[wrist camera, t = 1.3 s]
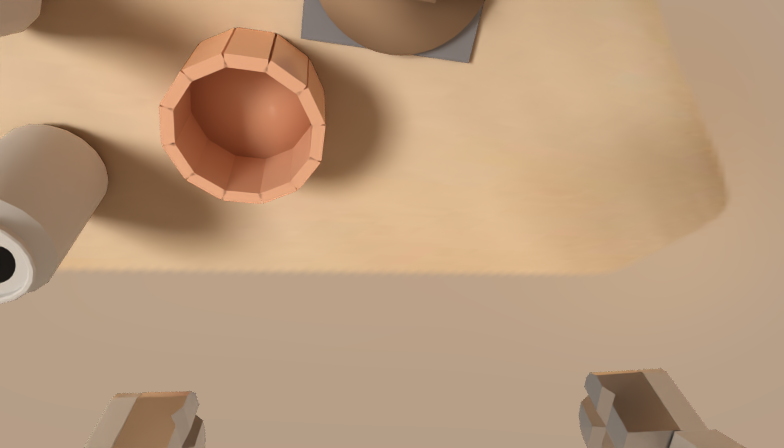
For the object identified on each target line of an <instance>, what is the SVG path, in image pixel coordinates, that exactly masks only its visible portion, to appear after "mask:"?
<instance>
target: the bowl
mask: <svg viewBox="0 0 784 448" xmlns="http://www.w3.org/2000/svg"><path fill="white" fill-rule="evenodd" d="M159 114H160V129H161V144H164V145H163V148H164V150H165V151H166V153H167V154H168V156H169V157H170V158H171V160H172V161H173V163H174V164H175V166H176V167H177V169H178V170H179V171H180V173H181V174H182V176H183V177H184V179H185V178H187V181H188V182H190V183H192V184H194V185H195V186H197V187H199V188H201V189H203V190H204V191H206V192H208V193H210V194H212V195H213V196H215V197H217V198H219V199H220V200H221V199H222V198H223V201H235V202H246V203H258V204H261V202H262V201H263V203H266V202H269V201H271V200H274V199H277V198H279V197H282V196H285V195H287V194H290V193H292V192H295V191H297V189H300V187H301V186H302V185H303V184H304V183H305V181H306V180H307V179H308V178H309V177H310V175H311V174H312V173H313V172H314V170H315V169H316V168H317V167H318V166H319V164H320V163H321V161H322V152H323V143H324V134H325V93H324V89H323V87H322V85H321V83H320V81H319V78H318V76H317V74H316V72H315V70H314V67H313V65H312V63H311V61H310V59H308V56H306V55H305V54H304V53H302V52H301V51H300V50H298V49H297V48H296V47H294V46H293V45H292V44H290V43H289V42H288V41H286V40H285V39H284V38H282V37H281V36H280V35H278V34H277V36H276V37H275V33H272V32H265V31H258V30H252V29H245V28H238V27H237V28H236V30H235V28H232V29H230V30H228V31H225V32H223V33H221V34H218V35H216V36H213V37H211V38H209V39H206V40H204V41H202V42H201V43H200V44H198V46H197V47H196V49H195V50H194V52H193V53H192V55H191V56H190V58H189V59H188V61H187V62H186V63H185V65H184V66H183V68H182V69H181V71H180V72H179V74H178V76H177V77H176V79H175V80H174V82H173V84H172V85H171V87H170V88H169V90H168V91H167V93H166V95H165V96H164V98H163V99H162V101H161V103H160V106H159Z"/></svg>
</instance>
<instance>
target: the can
mask: <svg viewBox="0 0 784 448" xmlns="http://www.w3.org/2000/svg"><path fill="white" fill-rule="evenodd" d="M107 186H108V175H107V171H106V167H105V165H104V163H103V161H102V160H101V158H100V157H99V155H98V154H97V152H96V151H95V150H94V149H93V148H92V147H91V146H90V145H89V144H87V143H86V142H85V141H84V140H83V139H81V138H79V137H78V136H76V135H74V134H72V133H71V132H69V131H67V130H64V129H61V128H57V127H54V126H50V125H37V124H28V125H25V126H21V127H18V128H14V129H12V130H11V131H10V132H8V133H7V134H6V135H4V136H3V137H2V138H0V304H1V303H5V302H9V301H13V300H16V299H18V298H20V297H21V296H23V295H24V294H26V293H29V292H32V291H35V290H37V289H39V288H40V287H41V286H43V285H45V284H46V283H48V282H49V280H50V279H51V277H52V276H53V274H54V273H55V271H56V270H57V268H58V267H59V265H60V263H61V262H62V260H63V259H64V257H65V256H66V254H67V253H68V251H69V250H70V248H71V246H72V245H73V243H74V242H75V240H76V239H77V237H78V236H79V234H80V233H81V231H82V229H83V228H84V226H85V225H86V223H87V222H88V220H89V219H90V217H91V216H92V214H93V212H94V211H95V209H96V208H97V206H98V205H99V203H100V202H101V200H102V199H103V197H104V195H105V194H106V192H107Z"/></svg>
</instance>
